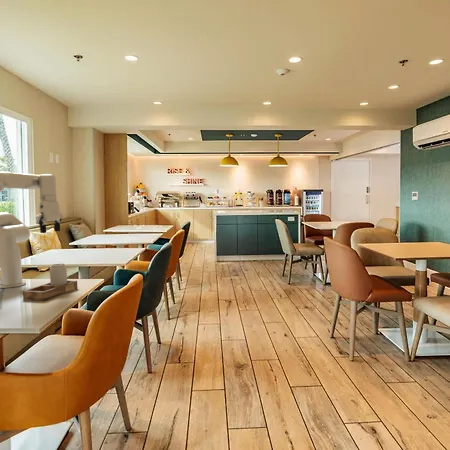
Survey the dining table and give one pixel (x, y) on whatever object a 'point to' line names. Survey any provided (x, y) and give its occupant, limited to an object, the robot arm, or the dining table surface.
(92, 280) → the dining table surface
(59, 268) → the can
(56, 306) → the dining table surface
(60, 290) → the tray
